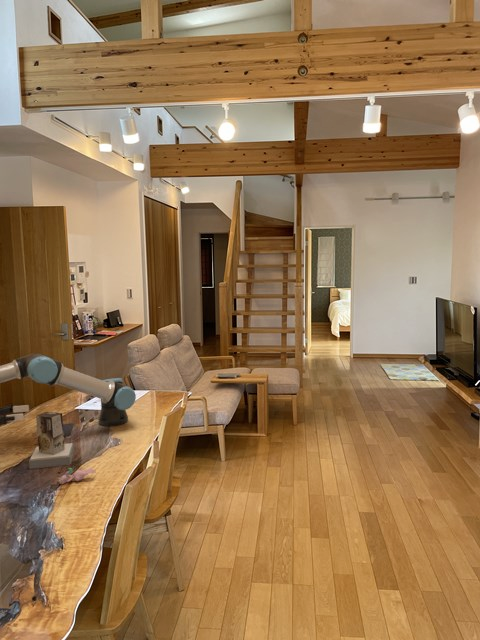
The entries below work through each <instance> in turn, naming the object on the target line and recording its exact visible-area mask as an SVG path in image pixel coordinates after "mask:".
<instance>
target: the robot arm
mask: <svg viewBox="0 0 480 640" xmlns="http://www.w3.org/2000/svg"><path fill="white" fill-rule="evenodd" d="M26 378H30V379H31V380H32V381H34V382H36V383H38V384H45V385H48V386H51V387H54V386H56V385H58V386H62V387H65V388H67V389H71V390H74V391H76V392H79V393H82V394H85V395H89V396H91V397H94V398H98V399H99V400H100V407H101V408H100V413H99V416H98V424H99V425H100V426H105V427H111V426H120V425H122V424H125V423H127V422H129V415H128V413H127V411H126V410H129V409H131V408H132V407H133V405H134V404H135V403H136V400H137V399H136V397H137V396H136V393H135V391H134V389H133V388H132V387H131V386H128V385H126V384H124V381H123V378H121V377H115V378H113V377H112V378H107V379H100V378H97V377H94V376H92V375H88V374H86V373H82V372H80V371H77V370H74V369H71V368H69V367H66V366H64V364H63V363H62V362H61V361H59V360H56V359H53V358H51V357H48V356H45V355H44V354H42V353H31V354H28V355H25V356H22V357H19V358H16V359H15V358H14V359H13V360H12V362H9V363H6V364H2V365H0V384H1V383H5V382H7V381H12V380H13V379H19V380H21V379H26ZM29 411H30V405H29V404H25V405H13V404H10V405H7V406H2V407H0V425H6V424H7V423H8V422H9V423H10V422H19V421H24V419H25V418H24V412H29ZM11 413H13V414H11Z"/></svg>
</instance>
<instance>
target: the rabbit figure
mask: <svg viewBox="0 0 480 640" xmlns="http://www.w3.org/2000/svg"><path fill="white" fill-rule="evenodd" d="M72 473H73V468H71V467H69V468H68V471H66V473H65V474H63V475H62V476H61V477H59V476H58V477H57V478H55V480H54V484H55V485H56V486H57V483H59V485H64V484H66V483H69V482H71V481H72V480H74V481H76V482H79V481H81V480H83V479H85V476H86V475H87V476H88V475H89V474H92V473H94V474H95V473H96V469H93V468H87V469H84V470H82V469H79V470H76V471H74V473H73V475H71V474H72Z"/></svg>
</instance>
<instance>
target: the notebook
mask: <svg viewBox="0 0 480 640" xmlns="http://www.w3.org/2000/svg"><path fill="white" fill-rule="evenodd" d="M74 427H75V422H72V423H63V433H64V440H65V439H71V437H72V434H73V431H74Z"/></svg>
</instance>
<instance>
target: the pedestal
mask: <svg viewBox="0 0 480 640" xmlns="http://www.w3.org/2000/svg"><path fill="white" fill-rule="evenodd" d="M64 447H65V450H63V451H61V452H58V453H56V454H50V453H43V452H39V445H38V446H36V447H35V449H34V450H33V452H32V454H31V456H30V458H29V460H28V467H29V470H34V469H35V470H36V469H42V468H45V469H46V468H52V467H54V468H55V467H62V466H71V464H72V460H73V457H74V454H75V445H74V443H72V442H70V443H64Z"/></svg>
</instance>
